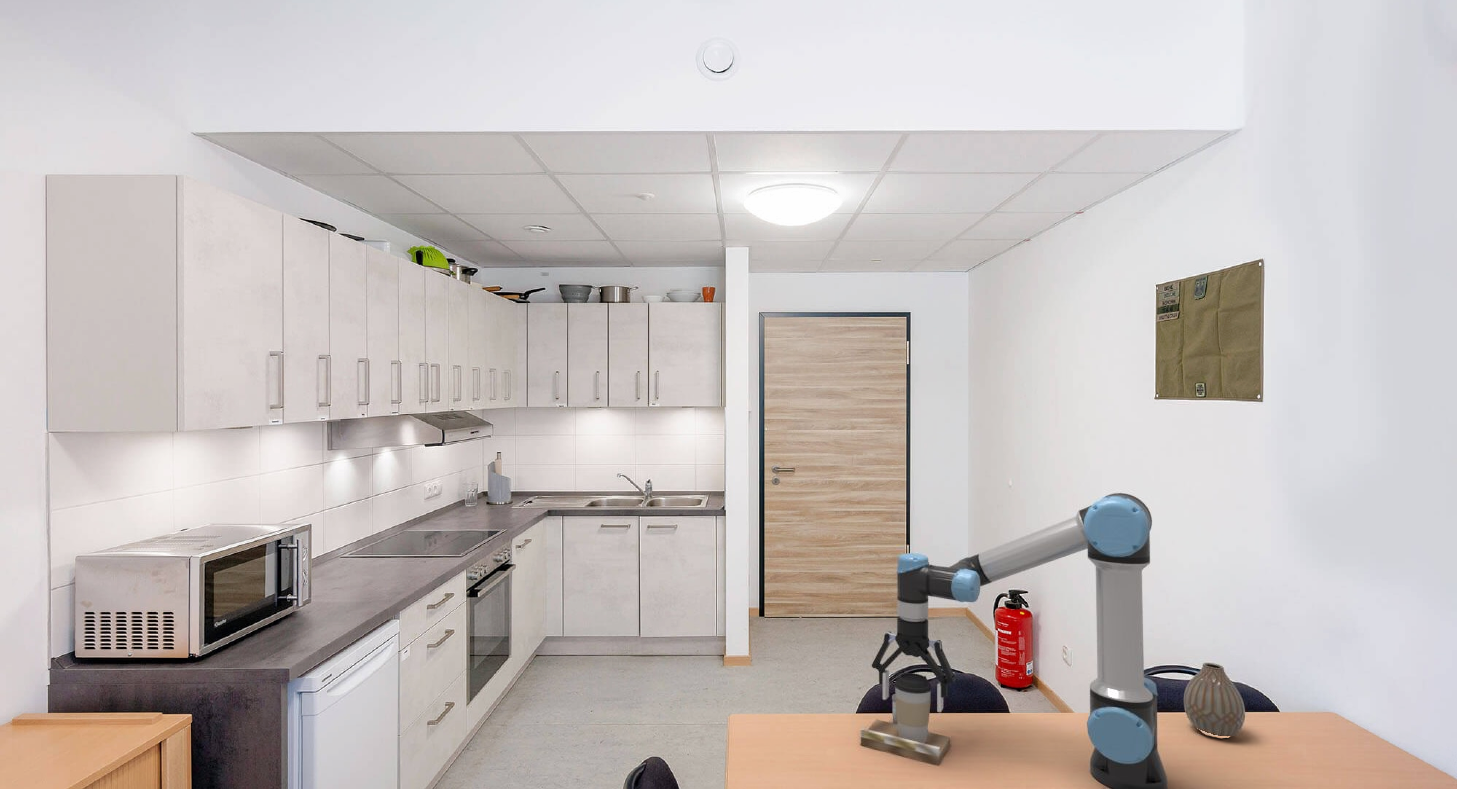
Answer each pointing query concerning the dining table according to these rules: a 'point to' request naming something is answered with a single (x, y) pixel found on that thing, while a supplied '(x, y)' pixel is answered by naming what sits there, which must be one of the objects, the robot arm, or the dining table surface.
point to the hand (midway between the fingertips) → (912, 704)
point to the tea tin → (894, 710)
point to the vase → (1214, 702)
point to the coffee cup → (912, 706)
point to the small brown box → (905, 743)
